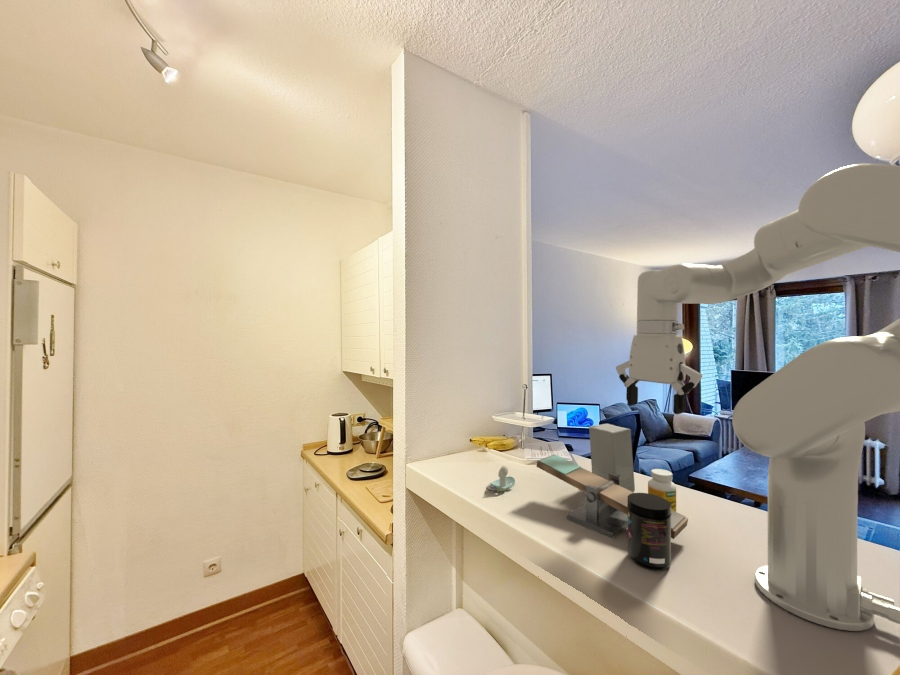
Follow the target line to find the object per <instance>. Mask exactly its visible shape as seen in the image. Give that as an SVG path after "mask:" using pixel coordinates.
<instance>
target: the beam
mask: <svg viewBox="0 0 900 675" xmlns="http://www.w3.org/2000/svg"><path fill="white" fill-rule="evenodd" d="M536 468H538V469H540V470H542V471H544V472H545V473H548V474H549V475H552V476H553V477H555V478H557V479H558V480H561V481H563V482H565V483H566V484H568V485H571V486H572V487H574V488H576V489H577V490H580V491H582V492H583V493H585V494H586V485H591V486H594V487H597V488H599V500H600V501H602V502H604V503H606V504H608V505H610V506H612V507H614V508H616V509H618V510H619V511H621V512H623V513H625V514H627V515H628V507H627V504H628V495H630V494H632V493H635V491H634V492H632V491H630V490H627V489H625V488H623V487H621V486H619V485H617V482H616V481H615V480H610V481H609V480H606V479H604V478H602V477H600V476H598V475H596V474H594V473H592V471H589V470H588V469H586V468H584V467H582V466H580V465H578V464H576V463H574V462H572V461H571V460H567V459H565V458H563V457H561V456H559V455H558V454H552V455H549V456H547V457H545V458H541V459H538V460H537V462H536ZM688 522H689V517H686V515H683V514H681V513H680V512H677V511H676V512H675V511H673V510H671V540H675V539H676V537H677V536H678V535H679V534H681V533H682V531H683V530H684V529H685V528H686V527H687V525H688Z"/></svg>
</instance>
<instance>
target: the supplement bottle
mask: <svg viewBox="0 0 900 675" xmlns="http://www.w3.org/2000/svg"><path fill="white" fill-rule="evenodd" d="M650 477H651V478H650V479H649V480H648V481H647V493H648V494H653V495H657V496H660V497H662V498H664V499H666V500H668V501H669V502H670V504H671V510H673V511H675V512H677V486H676V484H675V483H674V482H673V473H672V472H671V471H670V470H667V469H662V468H653V469H651V471H650Z"/></svg>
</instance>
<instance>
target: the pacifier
mask: <svg viewBox="0 0 900 675" xmlns="http://www.w3.org/2000/svg"><path fill="white" fill-rule="evenodd" d="M508 473H509V469H508V467H507V465H503V466H501V467H500V468H499V470H498V473H497V474H498V478H499V479H497V480H494V481H491V482H489V483H488V485H487V486H486V488H487V489H488V490H489V491H496V490H497V492H500V491H501V492H505V490H506V491H507V490H508V489H511V488H512V487H513V486H514V485H515V483H516V479H515V478H514V477H513V476H507V475H508Z"/></svg>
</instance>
